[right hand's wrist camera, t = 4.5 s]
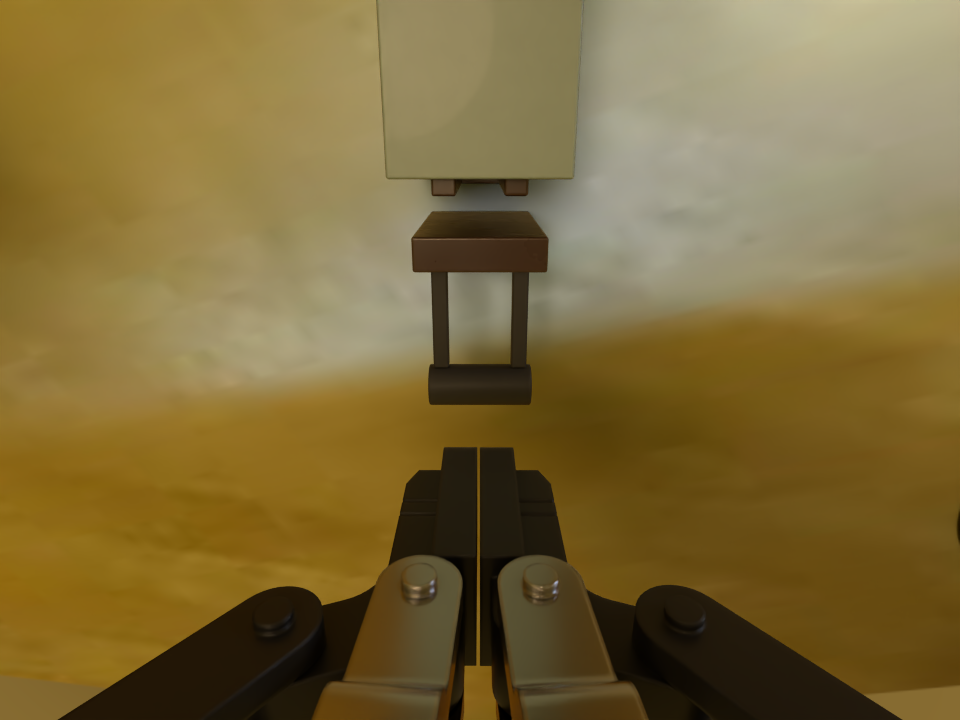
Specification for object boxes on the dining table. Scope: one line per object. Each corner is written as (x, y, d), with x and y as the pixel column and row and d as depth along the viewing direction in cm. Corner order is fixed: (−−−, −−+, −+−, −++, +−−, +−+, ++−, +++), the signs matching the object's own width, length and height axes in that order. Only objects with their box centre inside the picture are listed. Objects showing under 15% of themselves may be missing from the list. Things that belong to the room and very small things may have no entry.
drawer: (524, 353, 29) (540, 427, 22) (435, 353, 29) (418, 427, 22) (544, -322, 21) (584, -613, 13) (415, -321, 21) (375, -614, 13)
